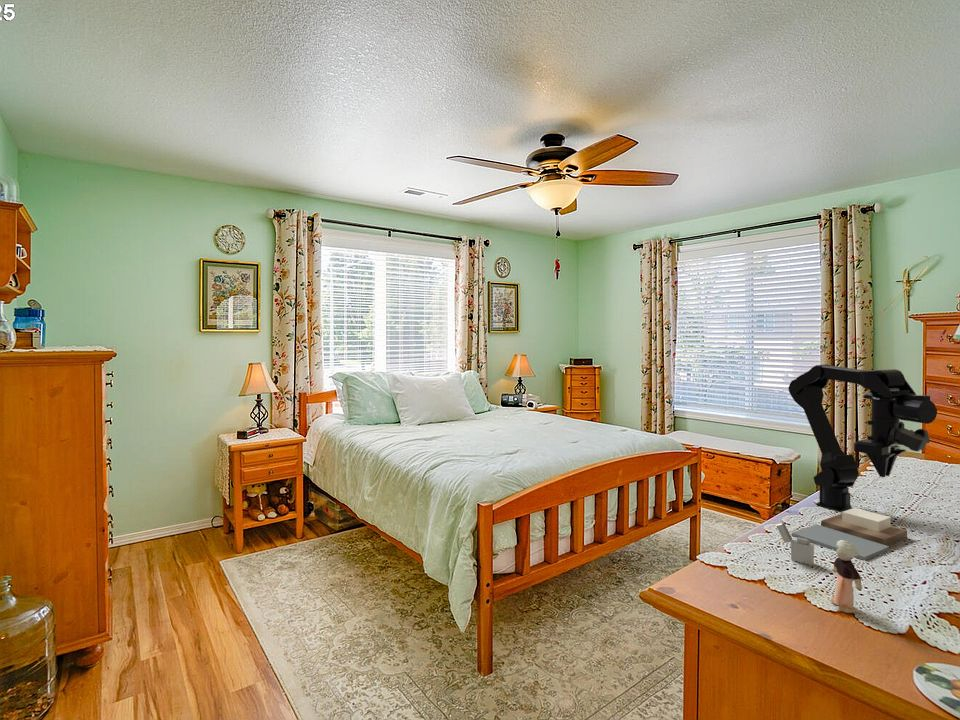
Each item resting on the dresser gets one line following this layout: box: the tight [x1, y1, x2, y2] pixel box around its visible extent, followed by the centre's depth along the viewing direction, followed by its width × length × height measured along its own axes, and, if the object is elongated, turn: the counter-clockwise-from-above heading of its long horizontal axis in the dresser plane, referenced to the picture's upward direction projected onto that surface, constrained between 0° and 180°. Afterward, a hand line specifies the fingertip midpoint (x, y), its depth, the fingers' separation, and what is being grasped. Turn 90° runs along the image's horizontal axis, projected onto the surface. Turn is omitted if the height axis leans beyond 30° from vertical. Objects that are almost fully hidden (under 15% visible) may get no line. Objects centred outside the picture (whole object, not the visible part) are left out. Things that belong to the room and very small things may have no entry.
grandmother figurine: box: [830, 540, 863, 614], centre depth 92 cm, size 8×4×13 cm, turn 5°
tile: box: [841, 507, 892, 532], centre depth 126 cm, size 8×6×2 cm
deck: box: [820, 513, 908, 547], centre depth 125 cm, size 14×11×2 cm
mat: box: [791, 523, 890, 561], centre depth 120 cm, size 16×11×1 cm
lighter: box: [775, 521, 815, 566], centre depth 111 cm, size 7×2×8 cm, turn 48°
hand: (884, 476), depth 129 cm, fingers closed
